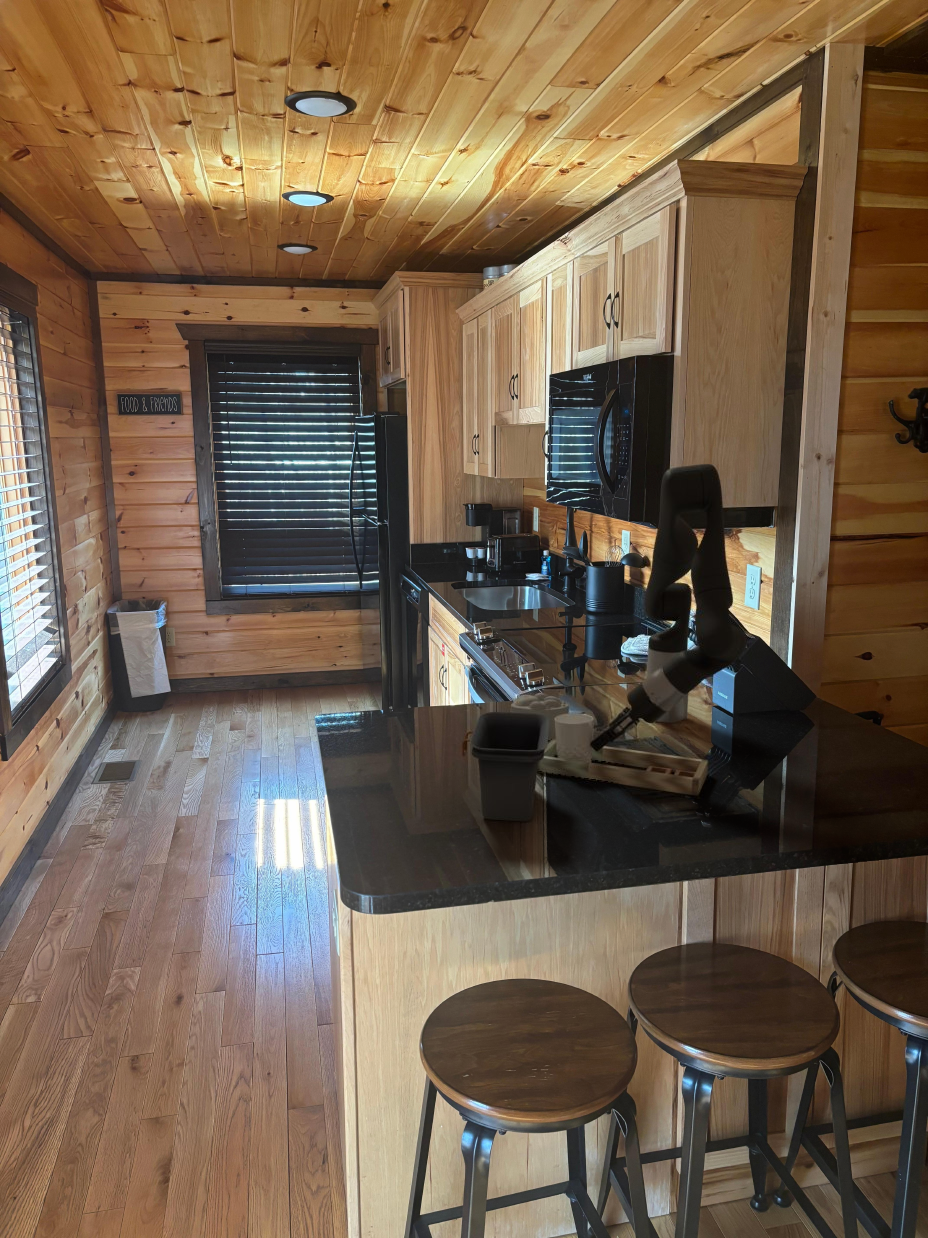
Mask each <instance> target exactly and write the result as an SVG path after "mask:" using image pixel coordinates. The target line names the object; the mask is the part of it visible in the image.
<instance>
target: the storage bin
mask: <svg viewBox="0 0 928 1238" xmlns="http://www.w3.org/2000/svg"><path fill="white" fill-rule="evenodd" d="M549 723H550V719H549V718H548V717H547V716H545V715H541V714H534V713H513V712H511V711H509V712H507V711H490V712H485V713H482V714H480V715H479V716H478V717H477V721H476V723H475V726H474V727H473V728H474V729H473V730H469V731H468V732H466V733H465V736H464V740H463V741H462V743H461V756H462V757H465V756H466V755H467V748H468V742H469V745H470V746H471V756H473V757H474V758H476V759H477V762H478V773H479V784H480V785H479V786H480V799H481V812H482V814H481V815H482V817H483V819H486V820H493V821H508V822H529V821H531V820H532V819H533V812H534V804H535V803H534V802H535V794H536V786H537V785H536V784H537V775H538V774H537V773H538V771H537V765H538V761H540V760H542V759H543V757H544V751H545V749H546V748H547V744H548V743H549V741H548V738H549ZM470 734H472V735H471V737H470V739H468V738H469V737H468V736H469V735H470Z"/></svg>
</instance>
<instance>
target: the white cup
mask: <svg viewBox="0 0 928 1238" xmlns="http://www.w3.org/2000/svg"><path fill="white" fill-rule="evenodd" d="M594 722H595V718H594V716H591V715H589V714H585V713H576V712H575V713H574V712H573V713H569V714H563V715H559V716H557V717H555V733H556V746H557V753H558V755H557V758H562V759H568V760H575V761H582V762H589V763H592V760H591V759H592V747H591V745H590V743H591V742H592V741H593V740H594Z"/></svg>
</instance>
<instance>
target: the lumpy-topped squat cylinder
mask: <svg viewBox="0 0 928 1238" xmlns="http://www.w3.org/2000/svg"><path fill="white" fill-rule="evenodd" d="M510 712H513V713H534V714H541V715H545V716H547V717H548V718H549V719H550V723H549V738H548V739H556V733H555V717H557V716H559V715H563V714H570V705H569V704H568V703H567V702H565V701H563V700H560V698H558V697H556V696H553V695H550V696H549V695H548V694H546V693H543V692H537V693H536V694H534V695H530V694H522V695H520V696H519V697H516V698H514V699H513V703H511V705H510Z"/></svg>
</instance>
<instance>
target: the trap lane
mask: <svg viewBox="0 0 928 1238" xmlns="http://www.w3.org/2000/svg"><path fill="white" fill-rule="evenodd" d="M555 755H556V756H558V753H557V746H556V739H552V740H550V741H548V744H547V748H546V749H545V751H544V757H543V759H542V760H540V761H538V765H537V772H539V771H542V772H541V773H545V772H547V773H546V774H552V773H553V774H552V775H558V774H561V775H560V776H565V775H566V777H571V776H575V777H574V778H578V777H581V778H580V779H584V778H589V779H588V780H591V779H596V780H595V781H597V780H602V781H601V782H604V781H608V782H607V783H611V782H613V783H612V784H617V783H618V785H625V786H632V787H637V788H645V789H651V790H657V791H663V792H664V791H665V792H670V793H675V794H676V793H677V794H683V795H690V796H695V797H696V796H699V794H700V792H701V789H702V787H703V785H704V783H705V781H706V779H707V776H708V772H709V770H708V769H709V760H707V759H700V758H694V757H693V758H692V757H686V756H677V755H671V754H664V753H656V752H649V751H641V750H635V749H627V748H622V747H621V748H619V747H611V746H606V745H605V746H604V747H603V748H601V749H600V750H599V751H595V750H594V749H593V748H592V760H591V761H595V760H598V761H597V762H601V761H606V762H605V763H608V762H611V763H610V764H615V763H618V764H617V765H622V764H624V765H623V766H628V767H629V766H631V767H635V768H630V767H629V768H628V767H621V766H614V765H608V764H603V763H602V764H601V763H594V762H591V763H589V762H582V761H575V760H568V759H562V758H558V757H556V756H555ZM554 756H555V757H554ZM636 767H637V768H644V769H645V768H646V770H643V769H637V768H636ZM672 773H674V774H672Z"/></svg>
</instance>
